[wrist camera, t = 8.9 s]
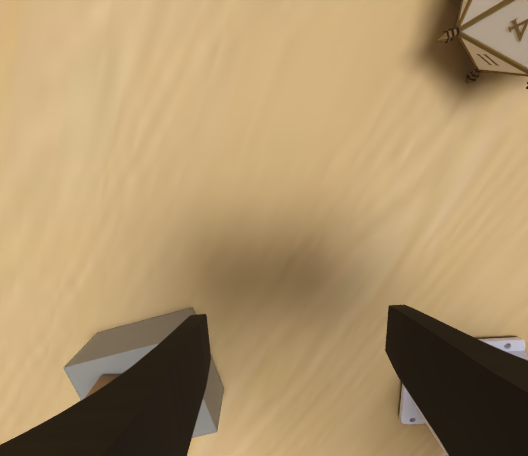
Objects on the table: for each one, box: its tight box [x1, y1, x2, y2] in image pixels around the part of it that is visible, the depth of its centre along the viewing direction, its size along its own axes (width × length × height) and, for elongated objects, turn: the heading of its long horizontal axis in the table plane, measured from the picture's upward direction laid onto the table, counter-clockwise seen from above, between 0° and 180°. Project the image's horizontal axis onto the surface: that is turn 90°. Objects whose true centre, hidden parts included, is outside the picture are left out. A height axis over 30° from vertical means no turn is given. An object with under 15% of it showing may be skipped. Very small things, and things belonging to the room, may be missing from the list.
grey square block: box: [63, 307, 224, 438], centre depth 20 cm, size 8×8×4 cm
